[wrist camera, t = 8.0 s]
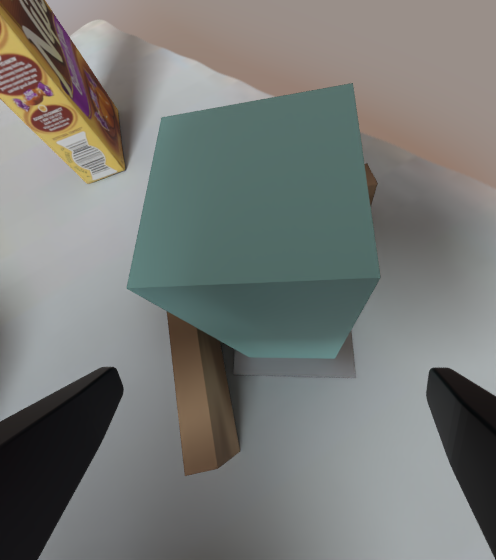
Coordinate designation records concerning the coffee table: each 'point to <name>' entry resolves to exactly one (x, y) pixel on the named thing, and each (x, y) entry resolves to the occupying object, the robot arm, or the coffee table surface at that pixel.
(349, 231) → the teal block
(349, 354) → the corner arena
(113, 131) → the candy box
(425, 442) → the coffee table surface
